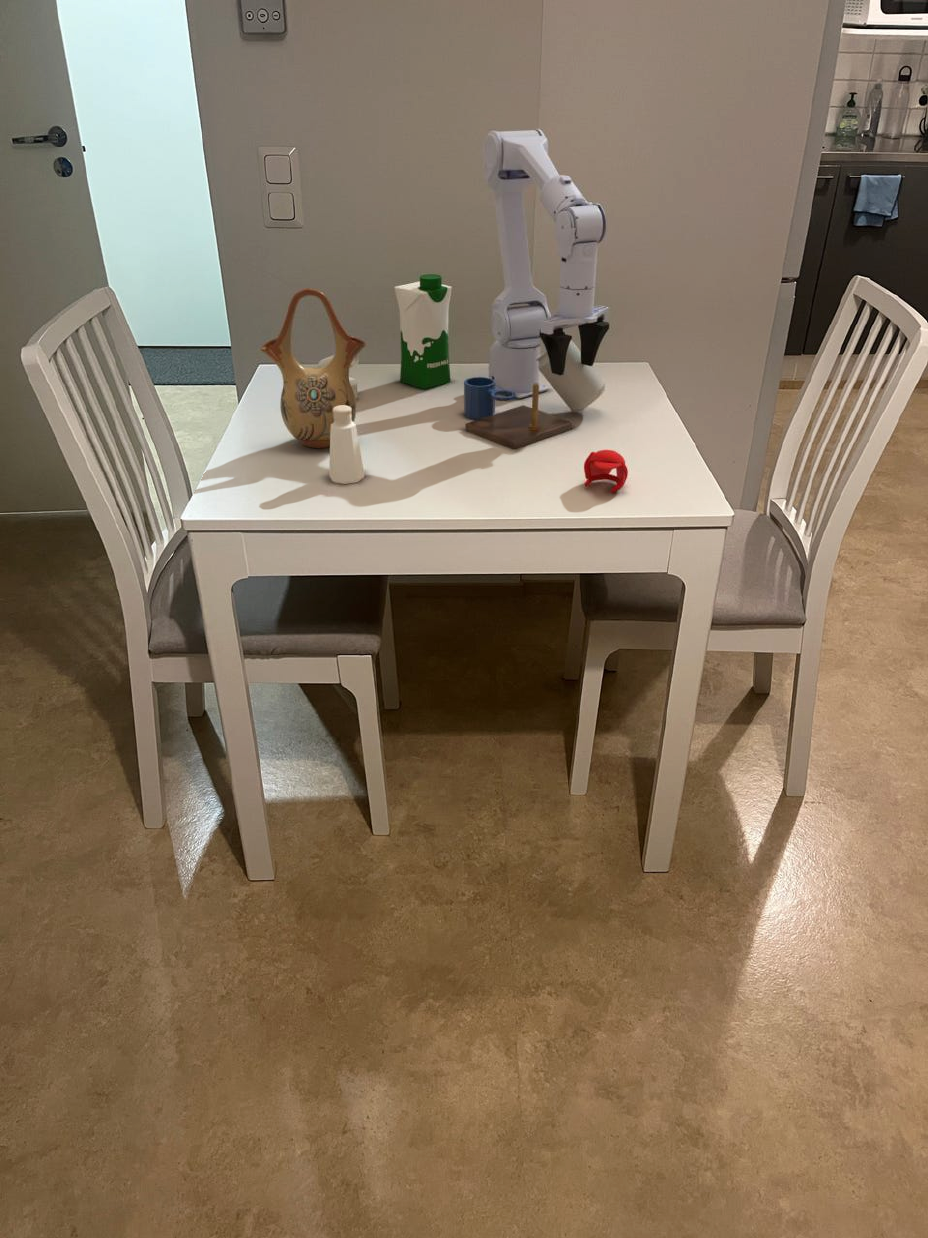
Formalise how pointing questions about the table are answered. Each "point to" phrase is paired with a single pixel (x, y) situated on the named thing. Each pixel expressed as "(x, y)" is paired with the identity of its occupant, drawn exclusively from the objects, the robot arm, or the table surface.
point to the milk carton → (424, 332)
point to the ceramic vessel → (313, 379)
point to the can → (573, 380)
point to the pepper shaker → (344, 448)
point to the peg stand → (519, 425)
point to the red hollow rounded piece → (605, 468)
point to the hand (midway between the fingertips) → (572, 369)
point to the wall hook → (351, 380)
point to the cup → (482, 397)
